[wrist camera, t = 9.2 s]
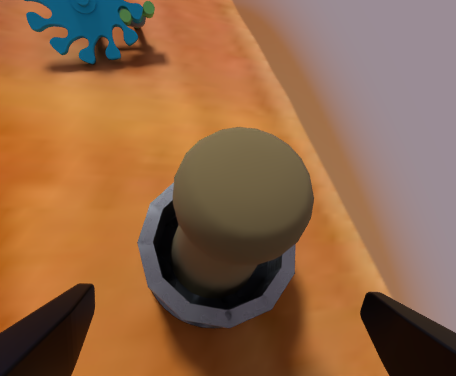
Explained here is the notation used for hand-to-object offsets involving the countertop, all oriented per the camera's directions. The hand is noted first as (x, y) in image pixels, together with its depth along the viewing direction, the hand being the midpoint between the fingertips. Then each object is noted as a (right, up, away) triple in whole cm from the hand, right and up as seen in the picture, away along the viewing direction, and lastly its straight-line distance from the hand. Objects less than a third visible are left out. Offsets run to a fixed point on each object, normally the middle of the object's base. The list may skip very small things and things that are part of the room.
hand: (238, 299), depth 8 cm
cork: (-1, -1, +10) cm, 10 cm away
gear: (-13, +19, +18) cm, 29 cm away
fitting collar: (-1, -1, +10) cm, 10 cm away
